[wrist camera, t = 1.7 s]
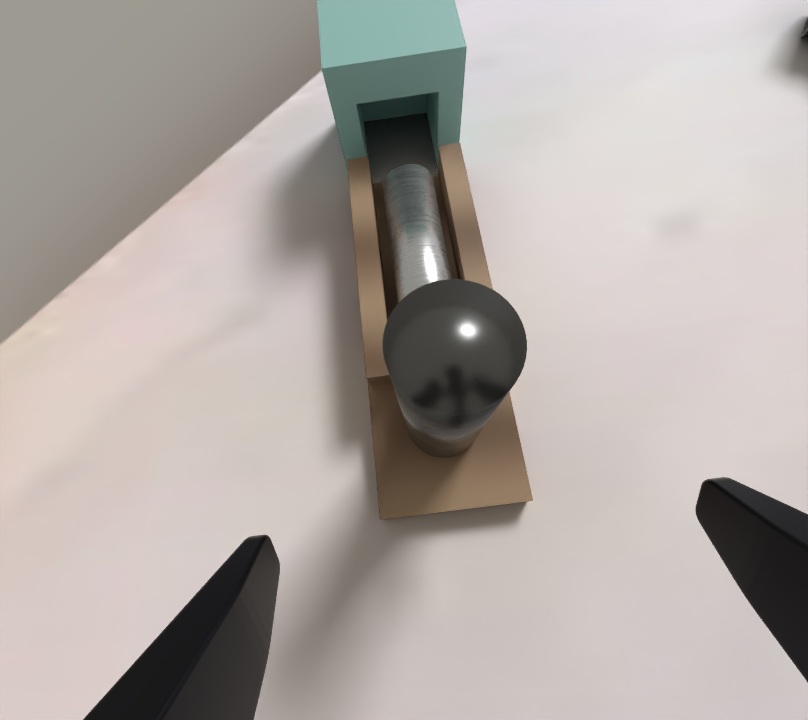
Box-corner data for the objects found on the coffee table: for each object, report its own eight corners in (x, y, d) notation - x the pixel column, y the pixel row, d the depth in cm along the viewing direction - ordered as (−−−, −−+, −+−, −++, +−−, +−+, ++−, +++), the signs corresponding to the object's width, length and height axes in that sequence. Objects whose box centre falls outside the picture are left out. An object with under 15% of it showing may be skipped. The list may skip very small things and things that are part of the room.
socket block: (457, 164, 25) (466, 46, 19) (350, 180, 25) (321, 68, 19) (443, 99, 27) (447, -29, 21) (344, 114, 27) (316, -8, 21)
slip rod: (485, 452, 18) (542, 401, 9) (411, 461, 18) (390, 421, 9) (437, 198, 23) (442, -5, 14) (380, 206, 23) (346, 10, 14)
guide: (527, 500, 18) (545, 500, 15) (382, 518, 18) (374, 522, 16) (459, 183, 25) (463, 142, 22) (353, 198, 25) (343, 159, 22)
